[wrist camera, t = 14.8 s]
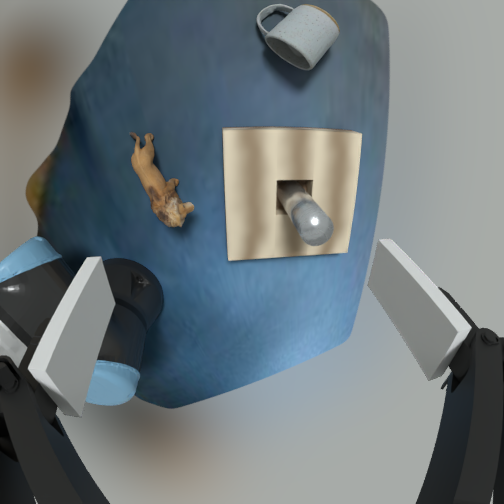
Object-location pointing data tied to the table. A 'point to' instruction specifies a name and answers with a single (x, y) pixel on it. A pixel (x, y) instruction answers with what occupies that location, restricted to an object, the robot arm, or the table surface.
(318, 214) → the metal peg
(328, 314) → the table surface
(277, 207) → the maple block
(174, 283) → the table surface
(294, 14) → the ceramic mug
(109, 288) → the robot arm
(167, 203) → the lion figurine
